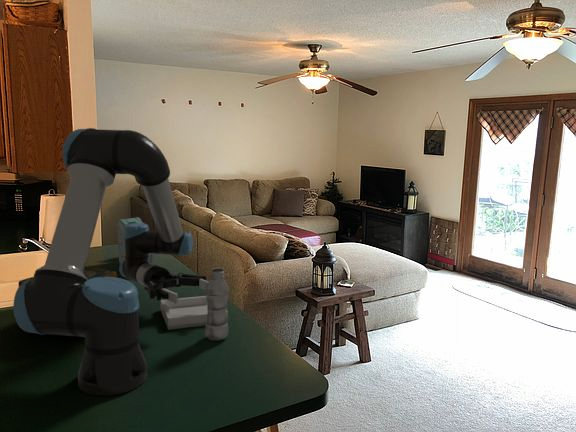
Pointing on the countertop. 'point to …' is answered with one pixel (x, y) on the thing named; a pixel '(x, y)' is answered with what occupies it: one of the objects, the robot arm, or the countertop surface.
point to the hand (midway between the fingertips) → (196, 293)
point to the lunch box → (121, 236)
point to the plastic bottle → (217, 306)
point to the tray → (185, 312)
